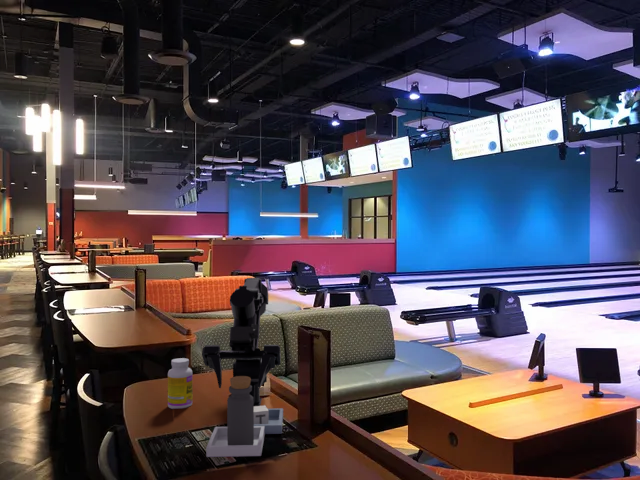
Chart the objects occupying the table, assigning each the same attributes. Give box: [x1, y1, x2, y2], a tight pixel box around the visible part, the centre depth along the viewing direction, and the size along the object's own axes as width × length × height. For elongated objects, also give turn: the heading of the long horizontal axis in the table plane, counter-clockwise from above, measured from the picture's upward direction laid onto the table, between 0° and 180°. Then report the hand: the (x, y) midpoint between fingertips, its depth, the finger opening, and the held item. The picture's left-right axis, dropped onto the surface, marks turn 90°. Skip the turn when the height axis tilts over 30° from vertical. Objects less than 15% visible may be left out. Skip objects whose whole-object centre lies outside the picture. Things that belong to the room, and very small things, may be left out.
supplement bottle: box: [167, 357, 194, 410], centre depth 145 cm, size 7×7×13 cm
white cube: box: [254, 404, 269, 424], centre depth 130 cm, size 4×4×4 cm
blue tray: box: [254, 407, 284, 435], centre depth 130 cm, size 12×12×2 cm
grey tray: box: [205, 426, 266, 458], centre depth 117 cm, size 12×12×2 cm
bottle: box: [226, 376, 254, 445], centre depth 117 cm, size 6×6×15 cm
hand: (239, 387), depth 122 cm, fingers open, 9 cm apart
